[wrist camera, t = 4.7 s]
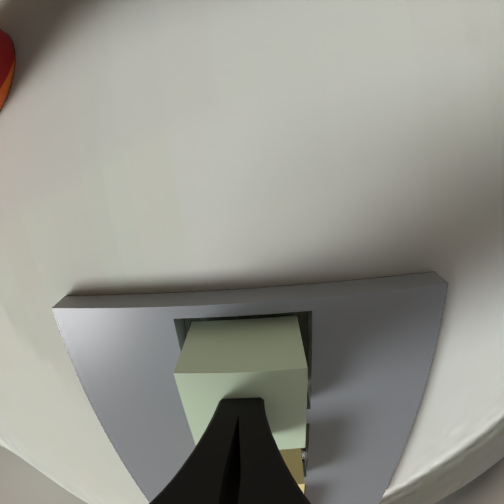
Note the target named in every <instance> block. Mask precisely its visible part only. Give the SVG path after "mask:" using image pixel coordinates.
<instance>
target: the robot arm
mask: <svg viewBox="0 0 504 504" xmlns="http://www.w3.org/2000/svg"><path fill="white" fill-rule="evenodd" d="M149 504H311V503H310V502H309V500H308V499H307V498H306V496H305V495H304V493H303V492H302V490H301V489H300V487H299V486H298V484H297V483H296V481H295V479H294V478H293V476H292V474H291V472H290V471H289V469H288V467H287V465H286V463H285V461H284V460H283V457H282V455H281V453H280V451H279V449H278V447H277V444H276V442H275V440H274V437H273V435H272V432H271V429H270V426H269V423H268V420H267V416H266V412H265V405H264V399H262V398H261V397H258V398H233V399H221V400H220V401H219V403H218V405H217V408H216V410H215V412H214V414H213V417H212V419H211V421H210V422H209V424H208V426H207V428H206V430H205V432H204V433H203V435H202V437H201V439H200V440H199V442H198V444H197V445H196V447H195V448H194V450H193V451H192V453H191V454H190V456H189V457H188V459H187V460H186V461H185V463H184V464H183V466H182V467H181V468H180V470H179V471H178V472H177V474H176V475H175V476H174V477H173V479H172V480H171V481H170V482H169V483H168V484H167V486H166V487H165V488H164V489H163V490H162V491H161V492H160V493H159V494H158V495H157V496H156V497H155V498H154V499H153V500H152V501H151V502H150V503H149Z"/></svg>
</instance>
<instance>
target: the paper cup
mask: <svg viewBox="0 0 504 504" xmlns="http://www.w3.org/2000/svg"><path fill="white" fill-rule="evenodd" d="M14 68H15V49H14V44H13V42H12V39H11V38H10V36H9V35H8V34H7V33H5V32H4V31H2V30H0V110H1V108H2V107H3V104H4V102H5V100H6V98H7V95H8V93H9V90H10V87H11V83H12V79H13V75H14Z"/></svg>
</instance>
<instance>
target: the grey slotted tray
mask: <svg viewBox="0 0 504 504" xmlns="http://www.w3.org/2000/svg"><path fill="white" fill-rule="evenodd" d="M447 286H448V283H447V282H446V281H445V280H444V279H443V278H441V277H440V276H439V275H438V274H436V273H435V272H427V273H419V274H409V275H400V276H391V277H381V278H371V279H360V280H350V281H339V282H327V283H315V284H303V285H290V286H277V287H263V288H248V289H233V290H216V291H198V292H178V293H156V294H130V295H98V296H65V297H64V298H62V299H61V300H60V301H59V302H58V303H57V304H56V305H55V306H54V307H52V310H53V313H54V316H55V319H56V322H57V325H58V328H59V331H60V333H61V336H62V339H63V341H64V344H65V347H66V349H67V352H68V354H69V357H70V359H71V362H72V364H73V366H74V369H75V371H76V373H77V376H78V378H79V380H80V382H81V385H82V387H83V389H84V391H85V393H86V395H87V397H88V400H89V402H90V404H91V406H92V408H93V410H94V412H95V414H96V416H97V418H98V420H99V421H100V423H101V425H102V427H103V429H104V431H105V433H106V434H107V436H108V438H109V440H110V442H111V443H112V445H113V447H114V449H115V450H116V452H117V454H118V455H119V457H120V459H121V460H122V462H123V464H124V465H125V467H126V468H127V470H128V471H129V473H130V475H131V476H132V478H133V479H134V481H135V482H136V484H137V485H138V487H139V488H140V490H141V491H142V493H143V494H144V495H145V497H146V498H147V500H148V501H149V502H151V501H152V500H153V499H154V498H155V497H156V496H157V495H158V494H159V493H160V492H161V491H162V490H163V489H164V488H165V487H166V486H167V484H168V483H169V482H170V481H171V480H172V479H173V477H174V476H175V475H176V474H177V472H178V471H179V470H180V468H181V467H182V466H183V464H184V463H185V461H186V460H187V459H188V457H189V456H190V454H191V453H192V451H193V450H194V448H195V447H196V445H195V442H194V439H193V436H192V433H191V430H190V427H189V424H188V420H187V417H186V414H185V411H184V408H183V404H182V401H181V398H180V394H179V391H178V387H177V384H176V380H175V377H174V370H175V368H176V365H177V362H178V359H179V356H180V353H181V350H182V348H183V345H184V342H185V339H186V336H187V335H186V330H185V325H184V320H183V318H208V317H229V316H247V315H263V314H277V313H290V312H302V311H308V388H307V414H306V445H305V461H302V463H303V472H304V481H305V487H304V495H305V496H306V498H307V499H308V500H309V502H310V503H311V504H379V503H380V501H381V499H382V497H383V495H384V493H385V490H386V488H387V486H388V484H389V482H390V480H391V478H392V475H393V473H394V471H395V469H396V466H397V464H398V461H399V459H400V457H401V454H402V452H403V449H404V447H405V444H406V442H407V439H408V436H409V434H410V431H411V428H412V425H413V423H414V420H415V417H416V414H417V411H418V408H419V405H420V402H421V399H422V395H423V392H424V389H425V385H426V382H427V378H428V375H429V371H430V367H431V364H432V360H433V356H434V352H435V348H436V343H437V339H438V334H439V330H440V325H441V320H442V315H443V309H444V304H445V298H446V292H447Z"/></svg>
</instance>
